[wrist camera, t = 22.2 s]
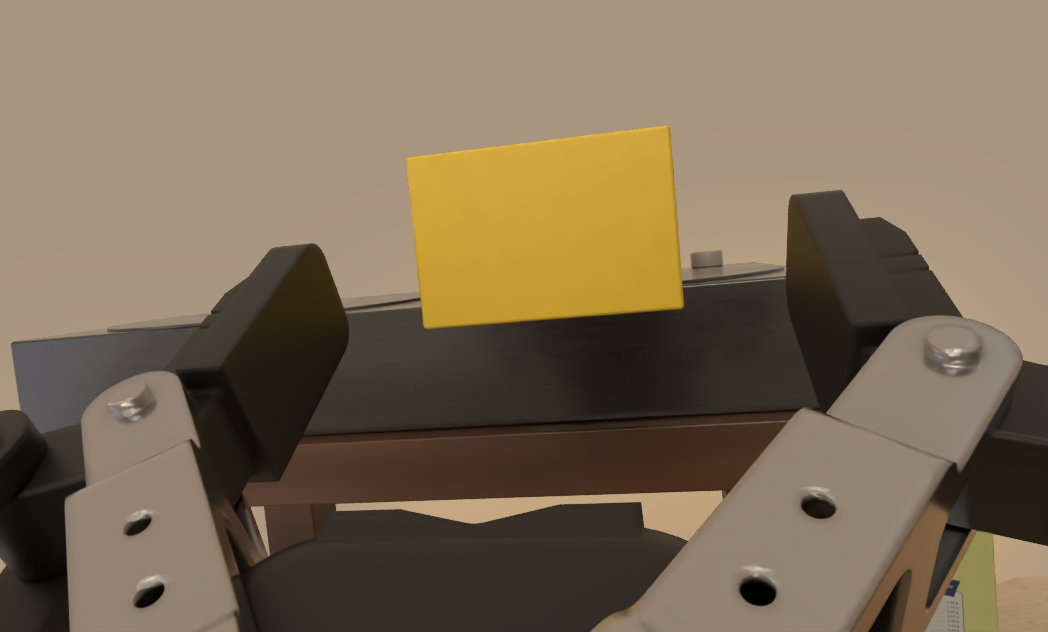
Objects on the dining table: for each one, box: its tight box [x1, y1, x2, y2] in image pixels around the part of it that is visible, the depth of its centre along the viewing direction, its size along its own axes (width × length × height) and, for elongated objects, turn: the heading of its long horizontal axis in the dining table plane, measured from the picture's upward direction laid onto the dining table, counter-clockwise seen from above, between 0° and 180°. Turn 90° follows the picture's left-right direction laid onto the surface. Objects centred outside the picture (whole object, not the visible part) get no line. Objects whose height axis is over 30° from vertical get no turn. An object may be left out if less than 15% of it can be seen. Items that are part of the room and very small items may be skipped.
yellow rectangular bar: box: [406, 125, 684, 329], centre depth 25 cm, size 27×4×3 cm, turn 170°
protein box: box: [925, 531, 998, 632], centre depth 53 cm, size 10×16×16 cm
